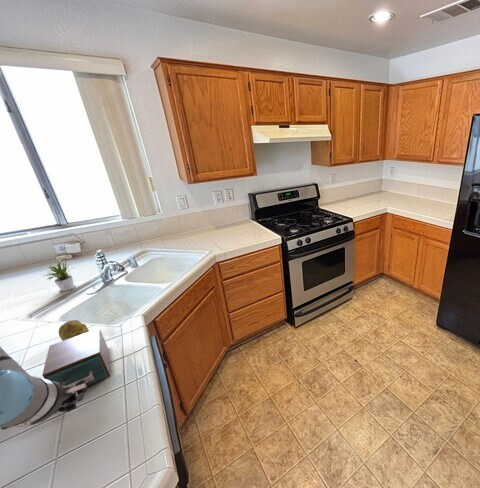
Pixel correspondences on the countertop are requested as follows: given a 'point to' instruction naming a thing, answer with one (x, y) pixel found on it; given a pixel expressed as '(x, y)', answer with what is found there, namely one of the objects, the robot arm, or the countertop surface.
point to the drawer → (80, 373)
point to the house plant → (61, 277)
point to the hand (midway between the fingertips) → (71, 404)
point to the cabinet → (77, 352)
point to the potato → (72, 329)
